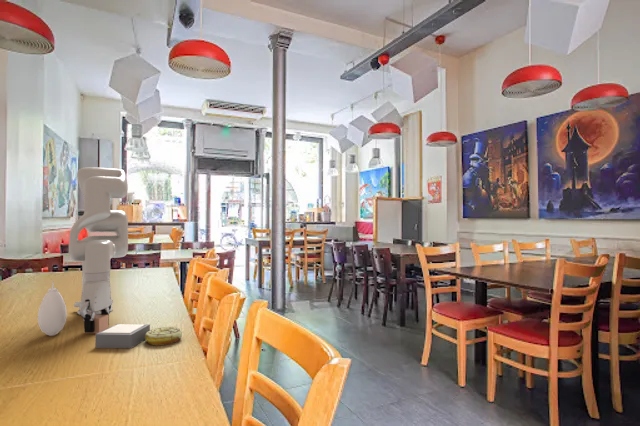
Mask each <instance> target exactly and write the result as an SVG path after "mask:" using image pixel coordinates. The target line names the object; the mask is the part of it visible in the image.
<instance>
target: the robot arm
mask: <svg viewBox="0 0 640 426" xmlns="http://www.w3.org/2000/svg"><path fill="white" fill-rule="evenodd" d="M76 178H77V183H78V186H79V189H80V191H81V193H82V196H83V198H84V203H83V205H84V207H83V209H84V211H83V214H82V215H81V216H80V217H79V218H78V219H77V220H76V221H75V222H74V224H73V225H72V227H71V229H70V231H69V235H68V236H69V238H68V256H69V258H70V260H72V261H74V262H82V263H81V264H82V265H81V266H82V267H81V268H82V278H81V279H82V281H81V283H82V284H81V285H82V288H81V289H82V290H81V294H80V295H81V297H80V301H75V303H74V304H73V307H74V308H79V309H77V314H78V315H79V316H81V318H82V321H83V323H84V329H83V332H84V333H85V334H94V333H93V332H94V331H95V320H93V318H94V315H109V316H110V314H111V312H112V311H113V309H114V308H113V306H112V305H113V303H114V300H113V299H112V287H111V259H113V258H114V259H116V258H117V259H118V258H123V257H125V256H127V254H128V251H129V219H128V218H129V217H128V216H127V213H126V212H125V211H124V210H119V209H118V210H117V209H111V199H124V198H126V197H127V194H128V188H129V187H128V179H127V175H126V172H125V170H124V169H120V168H111V167H108V168H107V167H98V166H97V167H96V166H95V167H94V166H86V167H82V168H79V169H78V170H77V173H76ZM84 229H85V230H86V231H87V232H90V233H115V234H116V235H89V236H85V237H84V238H82V239H81V240H80V239H79V236H80V233H81V232H82V230H84Z"/></svg>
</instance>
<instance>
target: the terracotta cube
mask: <svg viewBox="0 0 640 426" xmlns="http://www.w3.org/2000/svg"><path fill="white" fill-rule="evenodd" d="M93 320H95V331H94V332H93V333H92V334H97V333H99V332H101V331H103V330H106V329H108V328H110V327H109V326H110V314H109V315H100V314H97V315H94V318H93Z"/></svg>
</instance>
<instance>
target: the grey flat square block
mask: <svg viewBox="0 0 640 426" xmlns="http://www.w3.org/2000/svg"><path fill="white" fill-rule="evenodd" d="M150 330H151V324H145V323H144V324H142V323H139V324H138V323H136V324H135V323H131V324H129V323H122V324H121V323H117V324H114V325H112V326H110V327H108V329H106V330H103V331H101V332H99V333H94V334H95V337H94V338H95V339H94V341H95V344H94V346H95V349H97V348H98V349H132V348H133V347H136V346H137V345H138V344H141V343H142V342H144V341H145V340H146V339H145V335H146V333H147V332H148V331H150Z"/></svg>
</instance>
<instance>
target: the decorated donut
mask: <svg viewBox="0 0 640 426" xmlns="http://www.w3.org/2000/svg"><path fill="white" fill-rule="evenodd" d="M182 337H183V331H182V329H181V328H179V327H177V326H161V327H156V328H153V329H150V331H148V332H147V333H146V335H145V340H146V342H147V343H148V345H151V346H162V345H163V346H164V345H169V344H170V345H171V344H173V343H176V342H177V341H179V340H180V339H181V338H182Z"/></svg>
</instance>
